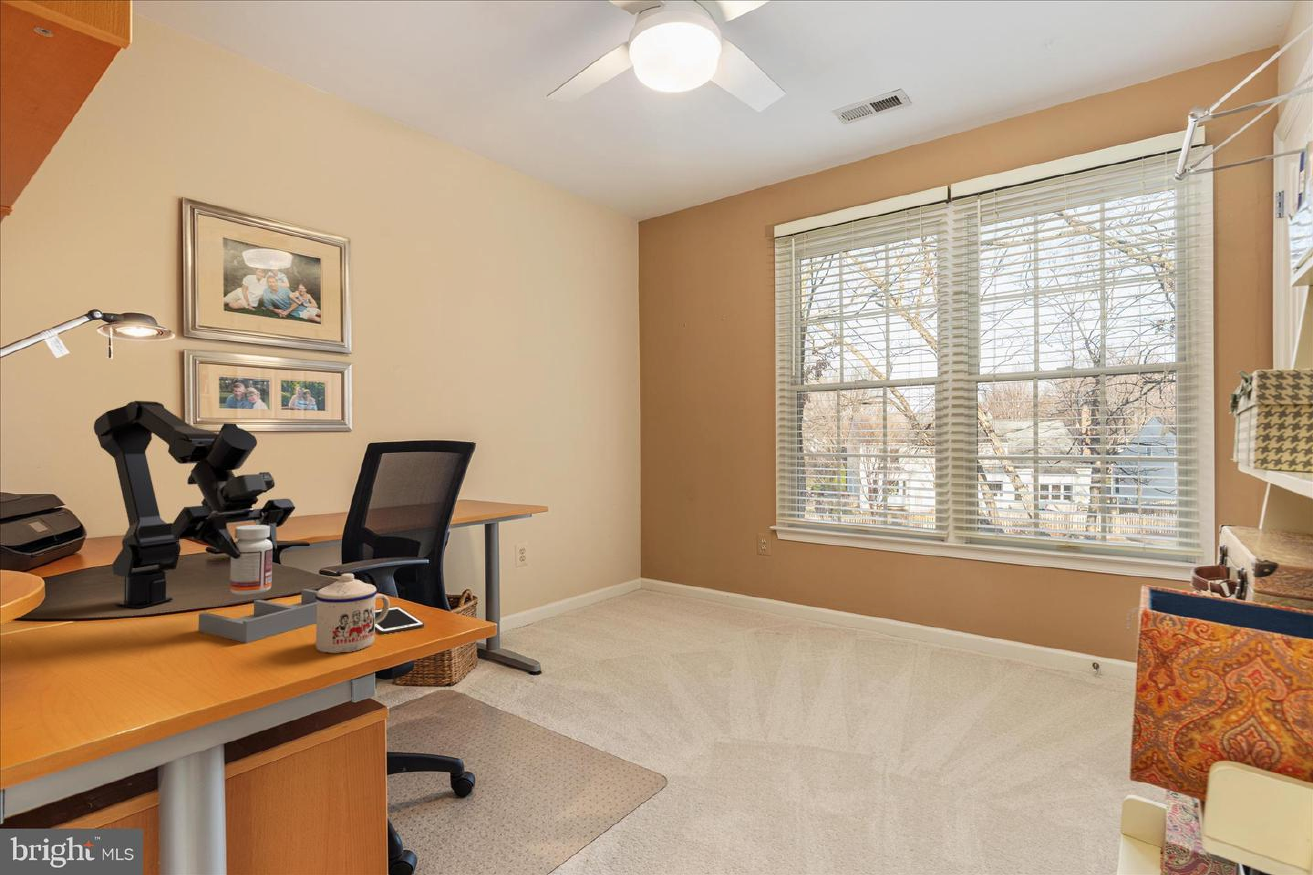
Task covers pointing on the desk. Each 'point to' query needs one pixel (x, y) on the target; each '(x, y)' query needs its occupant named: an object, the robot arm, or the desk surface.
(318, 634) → the teacup with lid
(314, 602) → the tray
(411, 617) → the cell phone
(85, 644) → the desk surface
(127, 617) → the desk surface
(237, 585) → the pill bottle
